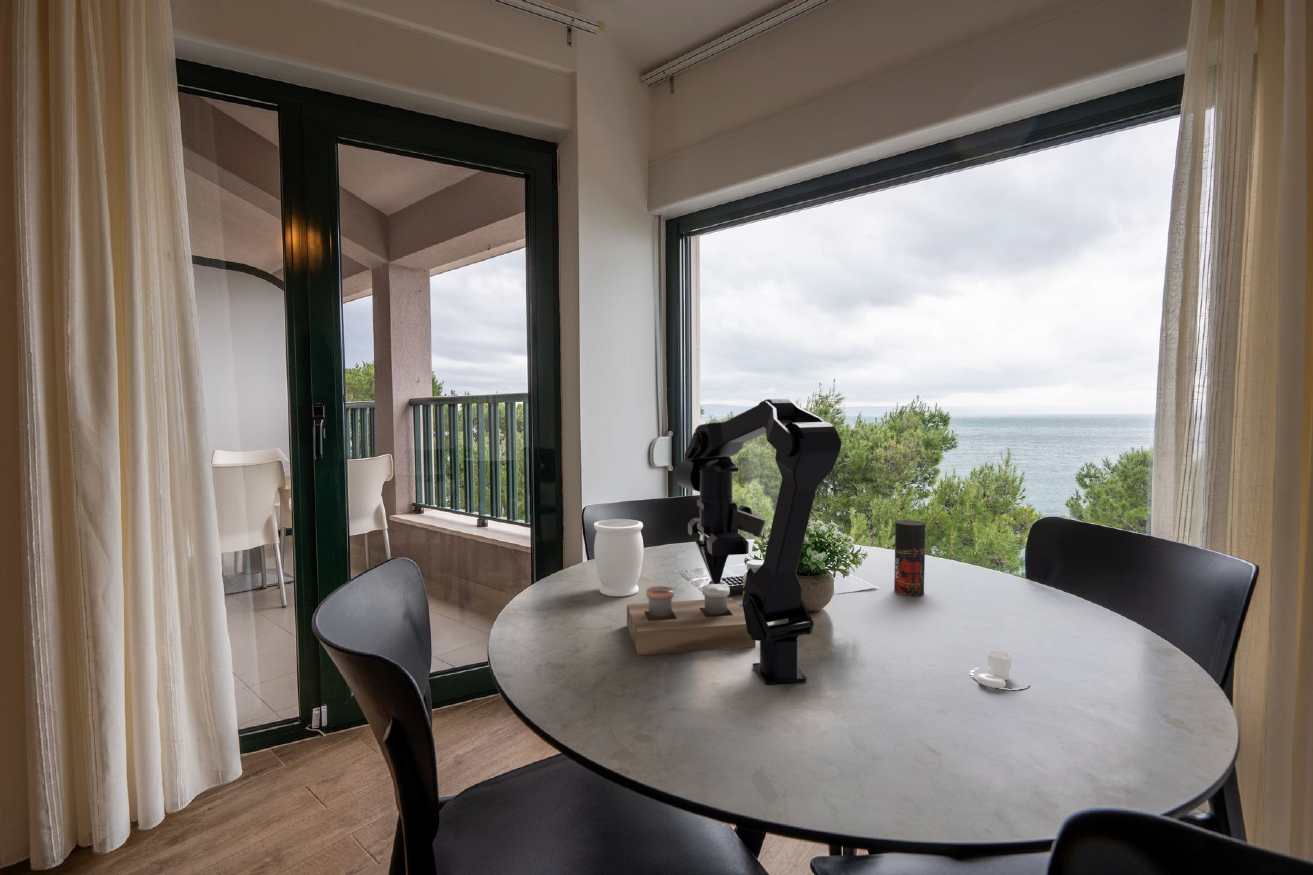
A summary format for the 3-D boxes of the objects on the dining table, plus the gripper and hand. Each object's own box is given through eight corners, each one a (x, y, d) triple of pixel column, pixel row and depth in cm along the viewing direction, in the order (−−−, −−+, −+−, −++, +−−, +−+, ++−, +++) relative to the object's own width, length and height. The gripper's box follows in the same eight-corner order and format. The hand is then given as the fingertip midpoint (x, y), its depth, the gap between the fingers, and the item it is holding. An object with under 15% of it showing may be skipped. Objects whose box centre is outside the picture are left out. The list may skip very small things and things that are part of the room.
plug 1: (676, 615, 111) (676, 593, 111) (648, 617, 110) (648, 594, 110) (671, 607, 116) (671, 585, 115) (644, 608, 115) (644, 586, 115)
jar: (587, 596, 137) (586, 526, 136) (605, 582, 146) (604, 517, 145) (634, 600, 133) (634, 529, 133) (649, 586, 143) (649, 519, 142)
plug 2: (732, 613, 113) (732, 591, 112) (706, 615, 112) (706, 592, 112) (725, 604, 117) (725, 583, 117) (699, 606, 116) (699, 584, 116)
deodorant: (888, 589, 140) (889, 521, 139) (908, 586, 143) (909, 519, 142) (909, 597, 135) (910, 526, 134) (930, 593, 137) (931, 523, 136)
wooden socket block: (755, 646, 109) (755, 623, 109) (637, 655, 105) (637, 631, 105) (731, 618, 123) (731, 597, 122) (626, 625, 119) (626, 604, 119)
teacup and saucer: (993, 697, 91) (994, 669, 91) (953, 674, 99) (954, 648, 98) (1043, 689, 93) (1044, 662, 93) (1000, 667, 101) (1001, 642, 101)
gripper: (779, 502, 105) (778, 596, 106) (744, 487, 124) (743, 567, 125) (712, 504, 104) (712, 600, 104) (687, 488, 122) (687, 570, 123)
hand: (716, 583), depth 114 cm, fingers closed
